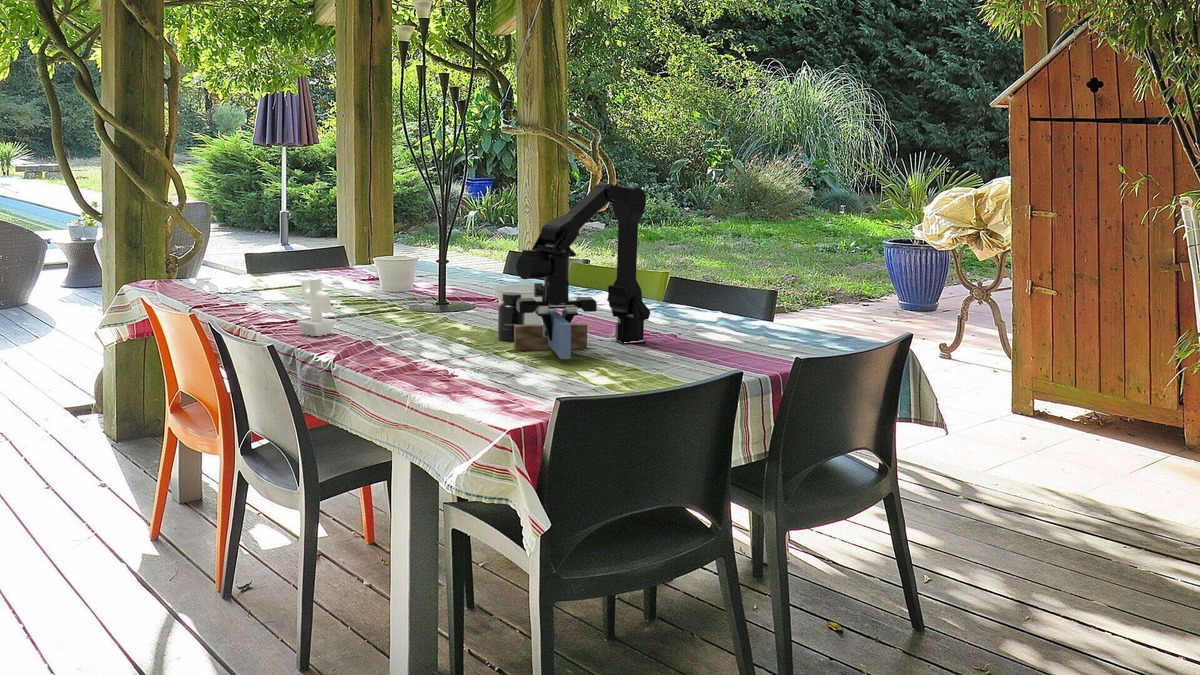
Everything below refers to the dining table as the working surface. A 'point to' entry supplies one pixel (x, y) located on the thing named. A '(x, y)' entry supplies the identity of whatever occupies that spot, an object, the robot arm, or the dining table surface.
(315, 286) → the figurine
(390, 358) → the dining table surface
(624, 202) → the robot arm
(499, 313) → the supplement bottle
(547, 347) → the walnut slotted board
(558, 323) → the slate blue tapered plate
